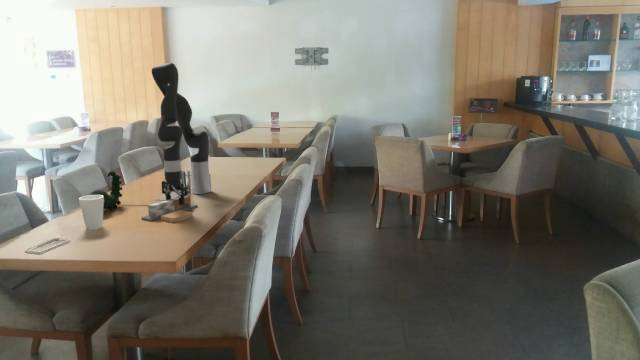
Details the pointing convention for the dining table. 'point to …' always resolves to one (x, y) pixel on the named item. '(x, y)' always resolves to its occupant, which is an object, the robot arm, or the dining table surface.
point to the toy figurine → (111, 193)
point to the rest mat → (167, 213)
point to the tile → (176, 216)
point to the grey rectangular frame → (47, 248)
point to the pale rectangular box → (167, 206)
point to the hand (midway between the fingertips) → (175, 204)
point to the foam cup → (92, 211)
